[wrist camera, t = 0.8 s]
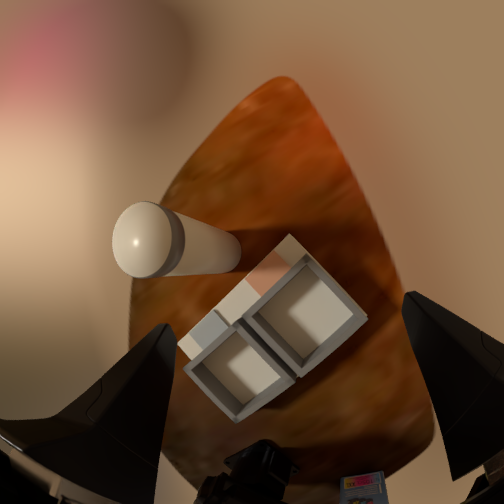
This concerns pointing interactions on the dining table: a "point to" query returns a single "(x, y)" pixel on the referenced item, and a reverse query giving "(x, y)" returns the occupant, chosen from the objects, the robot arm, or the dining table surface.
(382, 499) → the ink cartridge box
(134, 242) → the plug
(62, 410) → the robot arm
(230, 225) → the dining table surface
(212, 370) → the socket board
